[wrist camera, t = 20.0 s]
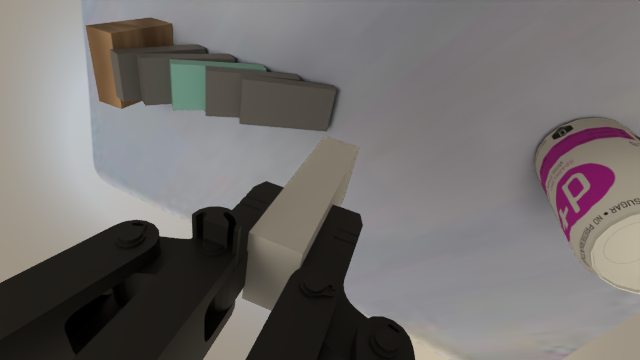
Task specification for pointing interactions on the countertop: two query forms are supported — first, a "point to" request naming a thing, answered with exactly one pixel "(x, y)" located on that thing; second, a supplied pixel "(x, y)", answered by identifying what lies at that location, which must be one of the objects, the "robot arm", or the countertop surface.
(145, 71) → the domino
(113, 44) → the end block
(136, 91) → the domino
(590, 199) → the supplement can
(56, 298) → the robot arm
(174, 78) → the domino
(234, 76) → the domino
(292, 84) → the domino
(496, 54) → the countertop surface
